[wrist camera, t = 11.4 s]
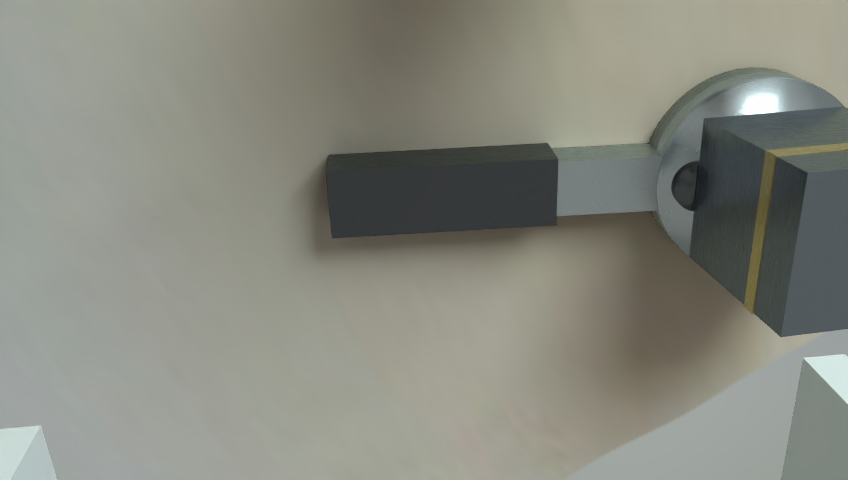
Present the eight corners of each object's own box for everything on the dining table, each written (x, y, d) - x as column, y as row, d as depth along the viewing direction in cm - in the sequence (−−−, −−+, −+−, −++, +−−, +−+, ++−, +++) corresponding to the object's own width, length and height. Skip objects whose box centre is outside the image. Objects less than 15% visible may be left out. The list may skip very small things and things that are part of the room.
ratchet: (339, 275, 42) (332, 349, 35) (322, 89, 38) (311, 131, 31) (817, 246, 43) (901, 313, 36) (850, 62, 39) (951, 98, 32)
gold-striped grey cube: (688, 257, 39) (779, 338, 32) (702, 117, 36) (807, 171, 29) (819, 242, 40) (937, 318, 33) (844, 105, 37) (978, 155, 30)
